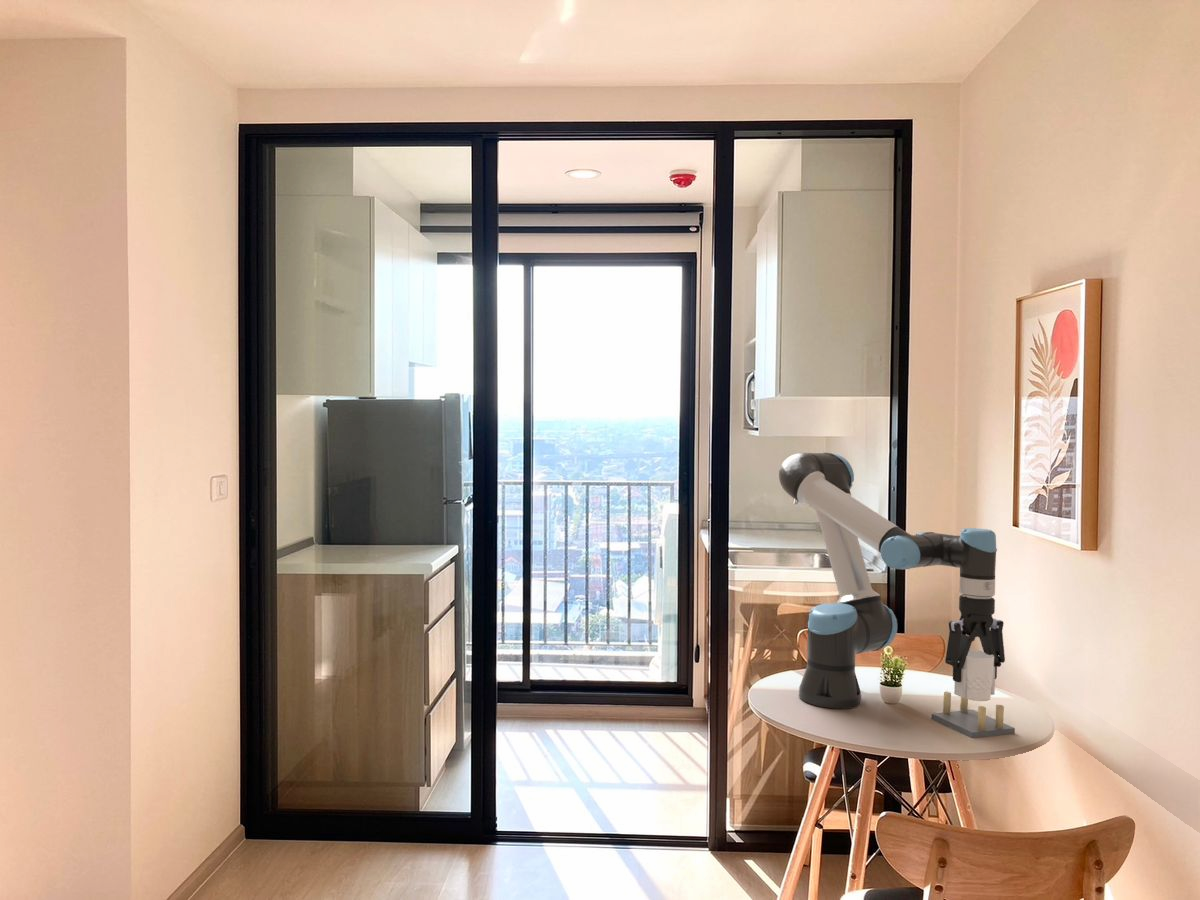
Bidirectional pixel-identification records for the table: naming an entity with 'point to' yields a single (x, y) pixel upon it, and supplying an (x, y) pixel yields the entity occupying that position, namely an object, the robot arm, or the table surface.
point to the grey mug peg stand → (972, 719)
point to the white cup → (978, 675)
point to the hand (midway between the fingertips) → (974, 694)
